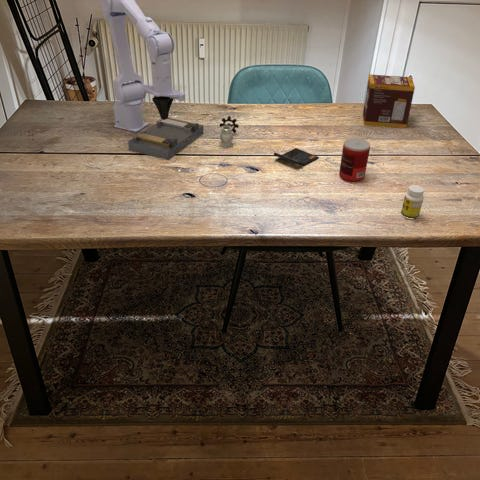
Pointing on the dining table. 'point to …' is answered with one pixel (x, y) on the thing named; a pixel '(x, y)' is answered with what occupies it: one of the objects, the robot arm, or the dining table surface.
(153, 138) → the brass strap
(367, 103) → the supplement box
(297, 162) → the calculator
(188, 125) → the steel strap
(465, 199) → the dining table surface
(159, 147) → the grey flat block
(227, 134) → the valve
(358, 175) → the canned food
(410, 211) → the supplement bottle
